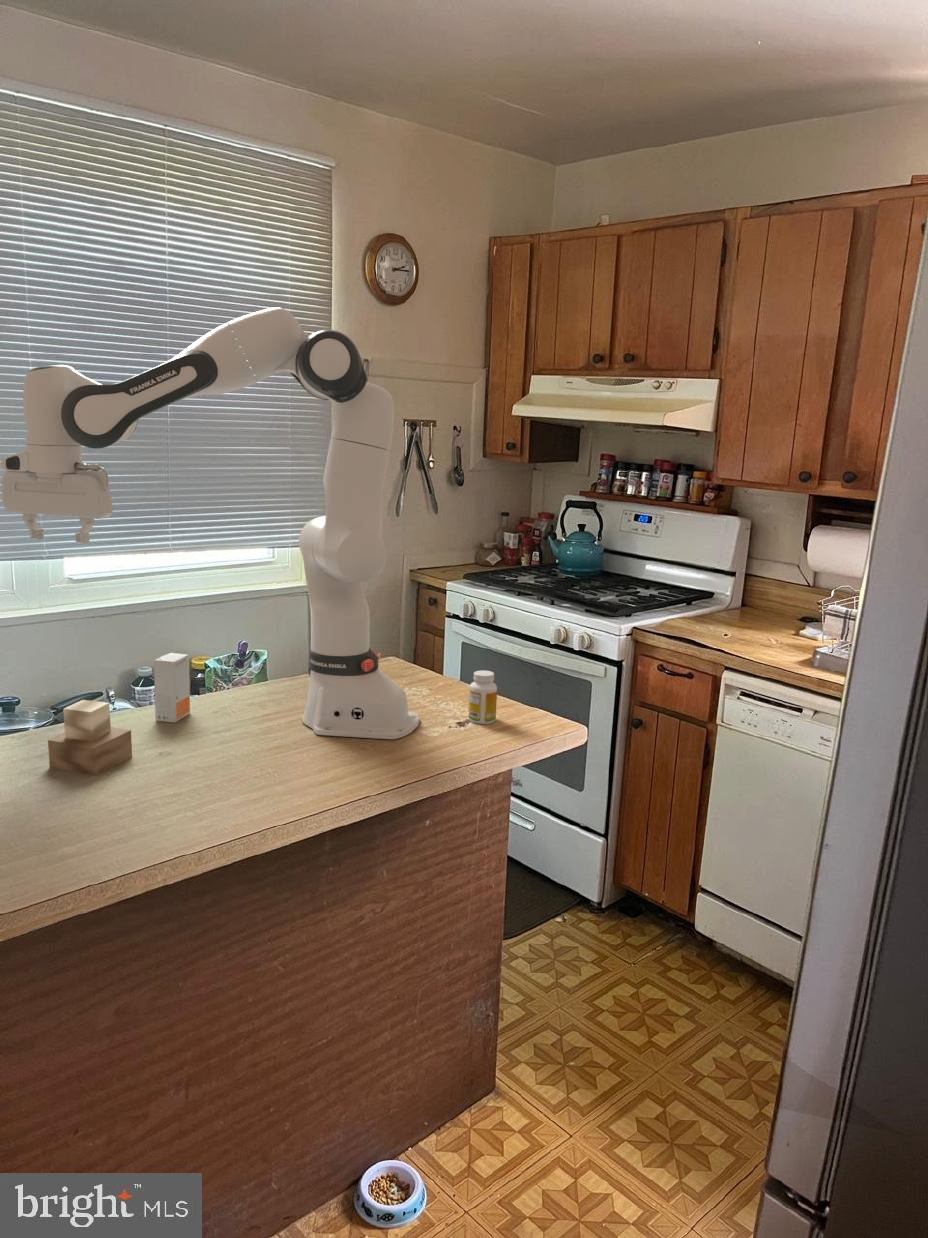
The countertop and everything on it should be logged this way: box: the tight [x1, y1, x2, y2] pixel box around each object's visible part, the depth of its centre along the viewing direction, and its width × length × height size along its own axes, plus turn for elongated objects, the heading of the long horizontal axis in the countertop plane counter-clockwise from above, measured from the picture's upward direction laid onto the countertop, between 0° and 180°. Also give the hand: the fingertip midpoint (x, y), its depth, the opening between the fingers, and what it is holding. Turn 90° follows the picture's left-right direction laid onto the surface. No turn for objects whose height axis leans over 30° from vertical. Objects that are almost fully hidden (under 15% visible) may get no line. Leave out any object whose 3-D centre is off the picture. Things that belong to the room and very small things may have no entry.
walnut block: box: [47, 726, 133, 777], centre depth 148 cm, size 9×9×5 cm
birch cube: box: [63, 699, 112, 741], centre depth 147 cm, size 5×5×5 cm
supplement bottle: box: [468, 670, 498, 725], centre depth 175 cm, size 5×5×10 cm
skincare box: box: [153, 652, 191, 723], centre depth 170 cm, size 6×4×12 cm
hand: (59, 540), depth 158 cm, fingers open, 8 cm apart
